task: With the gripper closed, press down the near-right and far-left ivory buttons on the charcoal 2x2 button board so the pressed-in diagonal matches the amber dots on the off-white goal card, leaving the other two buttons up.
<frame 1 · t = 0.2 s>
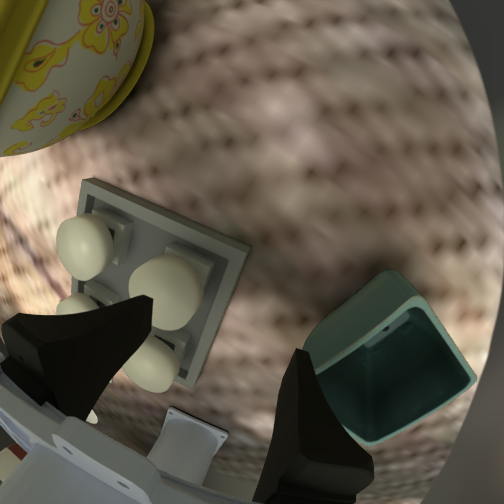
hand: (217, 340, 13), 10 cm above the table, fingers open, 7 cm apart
flower pot: (372, 311, 22), on the table
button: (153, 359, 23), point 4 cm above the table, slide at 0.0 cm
wineglass: (79, 406, 38), on the table
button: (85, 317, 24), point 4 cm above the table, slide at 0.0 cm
flowerpot: (99, 60, 19), on the table
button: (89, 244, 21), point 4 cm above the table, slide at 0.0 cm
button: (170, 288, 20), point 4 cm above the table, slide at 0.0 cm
button board: (142, 286, 25), on the table
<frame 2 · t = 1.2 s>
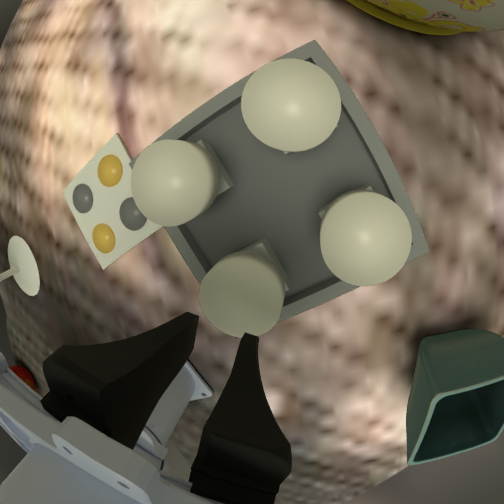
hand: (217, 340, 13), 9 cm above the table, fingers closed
flower pot: (440, 352, 21), on the table
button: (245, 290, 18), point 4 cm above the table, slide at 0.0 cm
wineglass: (23, 266, 29), on the table
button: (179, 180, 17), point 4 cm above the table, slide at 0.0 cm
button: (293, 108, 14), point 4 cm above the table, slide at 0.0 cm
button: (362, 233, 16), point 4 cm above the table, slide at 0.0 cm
button board: (276, 196, 20), on the table
goal card: (108, 204, 23), on the table
apple: (29, 374, 40), on the table
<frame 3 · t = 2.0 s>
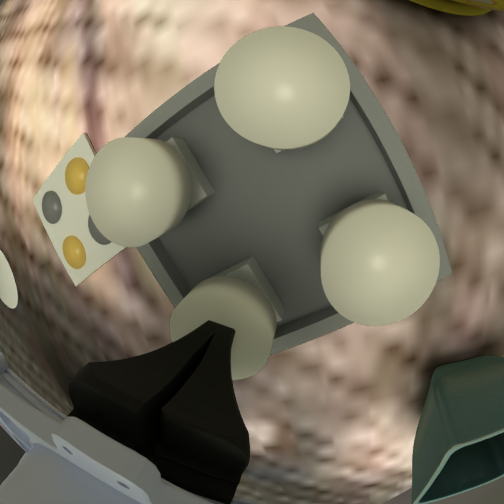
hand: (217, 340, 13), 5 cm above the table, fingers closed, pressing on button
flower pot: (453, 380, 17), on the table
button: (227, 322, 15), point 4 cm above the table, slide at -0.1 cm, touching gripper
wineglass: (2, 276, 26), on the table
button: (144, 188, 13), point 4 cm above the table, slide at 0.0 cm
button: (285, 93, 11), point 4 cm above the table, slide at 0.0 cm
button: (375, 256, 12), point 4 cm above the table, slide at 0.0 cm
button board: (267, 205, 16), on the table
goal card: (77, 214, 19), on the table
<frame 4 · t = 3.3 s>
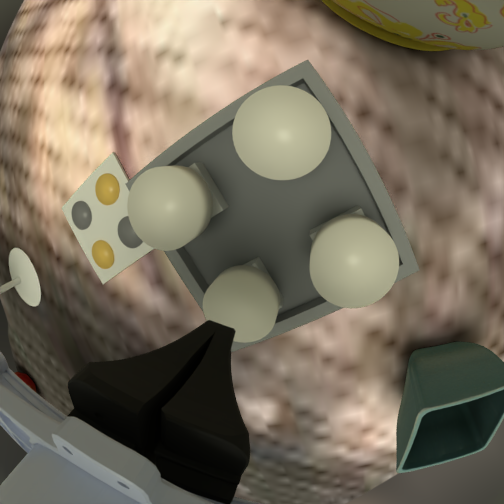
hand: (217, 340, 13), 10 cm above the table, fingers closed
flower pot: (431, 363, 21), on the table
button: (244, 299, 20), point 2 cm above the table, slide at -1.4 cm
wineglass: (24, 277, 30), on the table
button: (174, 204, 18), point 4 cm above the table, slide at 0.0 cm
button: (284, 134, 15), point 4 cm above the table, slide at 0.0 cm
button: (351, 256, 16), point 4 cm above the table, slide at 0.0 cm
button board: (269, 217, 20), on the table
goal card: (106, 222, 24), on the table
apple: (31, 380, 40), on the table
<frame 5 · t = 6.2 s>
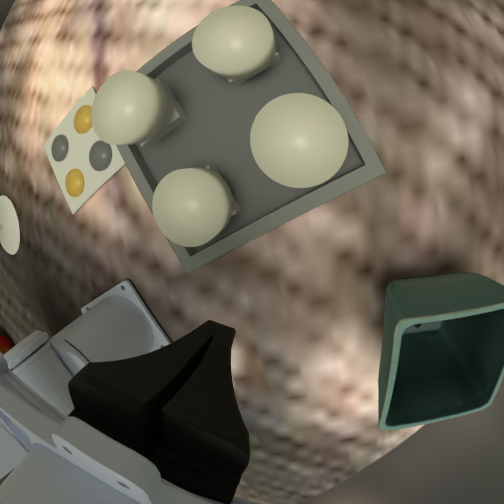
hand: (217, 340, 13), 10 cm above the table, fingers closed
flower pot: (417, 303, 20), on the table
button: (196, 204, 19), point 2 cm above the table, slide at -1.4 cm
wineglass: (7, 225, 29), on the table
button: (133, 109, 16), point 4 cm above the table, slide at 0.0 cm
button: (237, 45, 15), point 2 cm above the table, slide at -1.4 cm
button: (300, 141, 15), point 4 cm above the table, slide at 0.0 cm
button board: (226, 125, 19), on the table
goal card: (81, 151, 22), on the table
apple: (11, 344, 40), on the table
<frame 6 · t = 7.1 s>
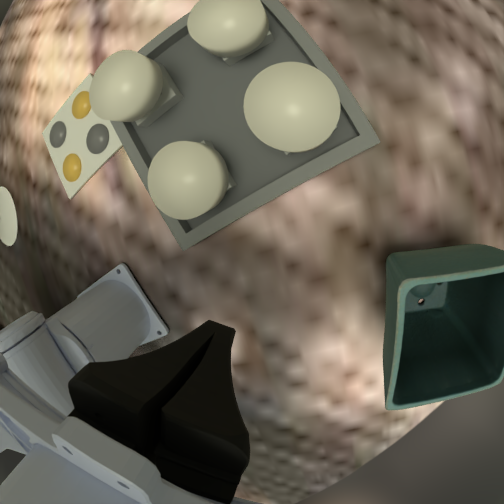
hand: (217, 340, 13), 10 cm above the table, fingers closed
flower pot: (419, 279, 20), on the table
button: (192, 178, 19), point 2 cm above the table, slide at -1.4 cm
wineglass: (4, 216, 28), on the table
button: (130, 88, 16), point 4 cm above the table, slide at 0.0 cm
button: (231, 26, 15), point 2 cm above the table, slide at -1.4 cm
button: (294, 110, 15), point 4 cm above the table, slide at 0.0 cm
button board: (221, 103, 19), on the table
goal card: (78, 136, 22), on the table
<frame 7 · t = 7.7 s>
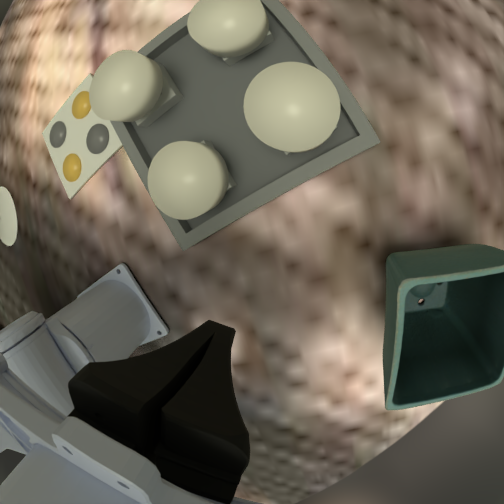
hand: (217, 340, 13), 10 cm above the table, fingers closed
flower pot: (419, 279, 20), on the table
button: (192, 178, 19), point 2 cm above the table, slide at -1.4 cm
wineglass: (4, 216, 28), on the table
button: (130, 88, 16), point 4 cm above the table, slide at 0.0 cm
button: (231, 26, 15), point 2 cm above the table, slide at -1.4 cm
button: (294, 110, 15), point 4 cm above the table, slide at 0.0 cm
button board: (221, 103, 19), on the table
goal card: (78, 136, 22), on the table
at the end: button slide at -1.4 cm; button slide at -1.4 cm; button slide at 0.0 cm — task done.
